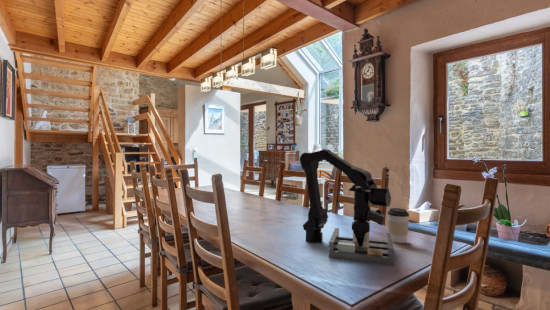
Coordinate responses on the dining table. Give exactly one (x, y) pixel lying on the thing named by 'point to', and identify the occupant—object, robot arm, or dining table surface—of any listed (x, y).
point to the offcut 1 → (346, 247)
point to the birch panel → (365, 242)
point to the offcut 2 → (375, 251)
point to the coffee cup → (398, 224)
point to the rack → (362, 250)
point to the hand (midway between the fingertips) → (361, 243)
